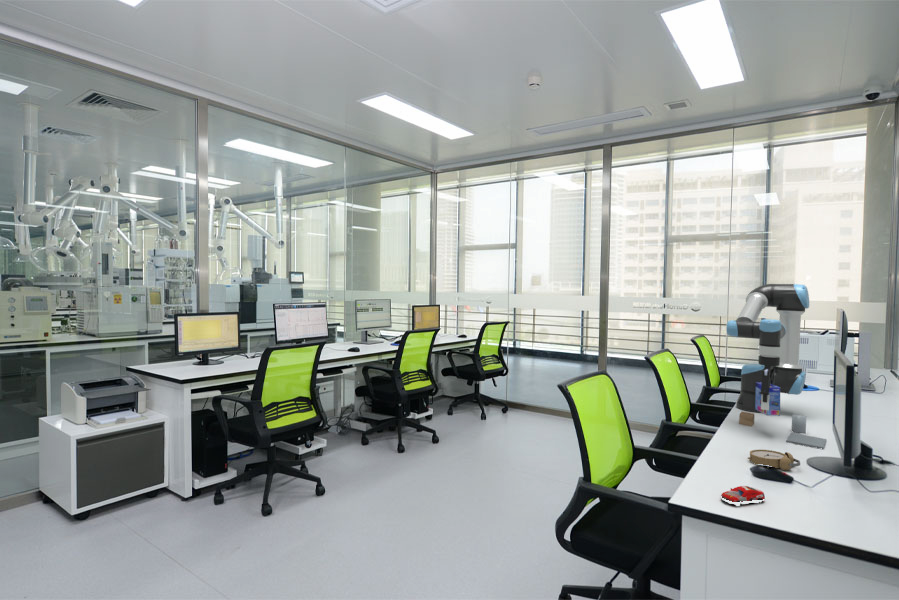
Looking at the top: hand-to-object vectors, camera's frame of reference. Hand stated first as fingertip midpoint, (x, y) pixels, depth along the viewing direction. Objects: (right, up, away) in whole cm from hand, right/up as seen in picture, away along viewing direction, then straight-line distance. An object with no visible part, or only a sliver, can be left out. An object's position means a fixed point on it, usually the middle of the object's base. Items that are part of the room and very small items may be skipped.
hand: (767, 407), depth 204 cm
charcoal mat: (+10, -12, -9) cm, 18 cm away
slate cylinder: (+16, -12, +4) cm, 21 cm away
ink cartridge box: (0, -3, 0) cm, 3 cm away
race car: (-50, -14, -64) cm, 83 cm away
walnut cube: (0, -11, +14) cm, 18 cm away
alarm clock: (-21, -13, -35) cm, 43 cm away
